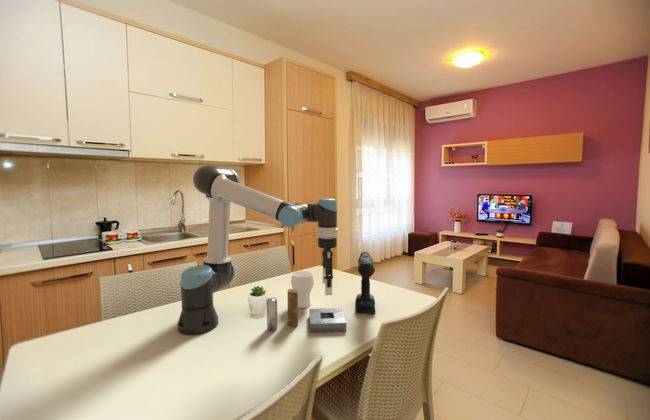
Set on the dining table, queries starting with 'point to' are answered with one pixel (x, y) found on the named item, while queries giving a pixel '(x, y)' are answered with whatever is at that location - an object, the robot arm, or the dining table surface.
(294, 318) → the square bit
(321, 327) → the socket block
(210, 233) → the robot arm
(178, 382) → the dining table surface
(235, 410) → the dining table surface
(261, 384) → the dining table surface
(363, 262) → the power drill
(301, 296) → the cup
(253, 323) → the dining table surface
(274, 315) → the round bit
